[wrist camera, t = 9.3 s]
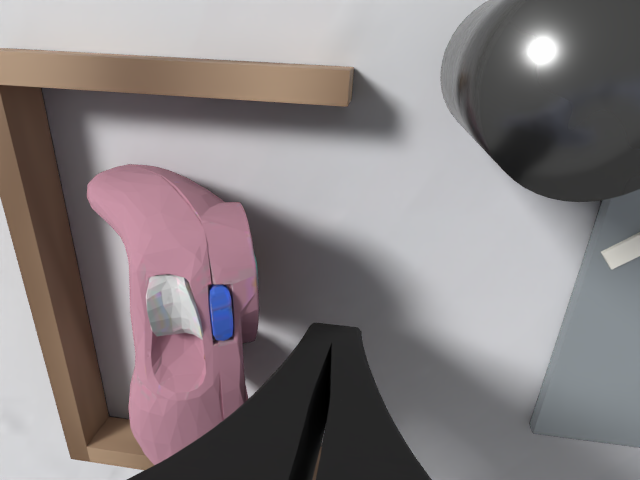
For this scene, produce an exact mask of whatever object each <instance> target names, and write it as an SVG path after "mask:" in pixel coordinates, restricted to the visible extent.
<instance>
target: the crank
mask: <svg viewBox="0 0 640 480" xmlns="http://www.w3.org/2000/svg"><path fill="white" fill-rule="evenodd" d="M441 88H442V93H443V97H444V100H445V103H446V105H447V107H448V109H449V111H450V112H451V114H452V115H453V117H454V118H455V119H456V120H457V121H458V122H459V124H460V125H461V126H462V127H463V128H464V129H465V130H466V131H467V132H468V133H469V134H470V135H471V136H472V137H473V138H474V139H475V141H476V142H477V143H478V144H479V145H480V146H481V147H482V148H483V149H484V150H485V151H486V152H487V153H488V154H489V155H490V156H491V158H492V159H493V160H494V161H495V162H496V163H497V164H498V165H499V166H500V167H501V168H502V169H503V170H504V171H505V172H506V173H507V174H508V175H509V176H510V177H511V178H512V179H513V180H514V181H516V182H517V183H519V184H520V185H522V186H523V187H525V188H527V189H529V190H531V191H533V192H535V193H537V194H539V195H542V196H545V197H548V198H552V199H557V200H562V201H573V202H589V201H599V200H605V199H611V198H614V197H618V196H622V195H625V194H628V193H631V192H633V191H636V190H638V189H640V0H489V1H487V2H486V3H484V4H482V5H481V6H479V7H478V8H477V9H475V10H474V11H473V12H472V13H471V14H469V15H468V16H467V17H466V18H465V19H464V21H463V22H462V23H461V24H460V25H459V27H458V28H457V29H456V31H455V32H454V34H453V35H452V37H451V39H450V41H449V43H448V45H447V48H446V50H445V53H444V57H443V61H442V67H441Z"/></svg>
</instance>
